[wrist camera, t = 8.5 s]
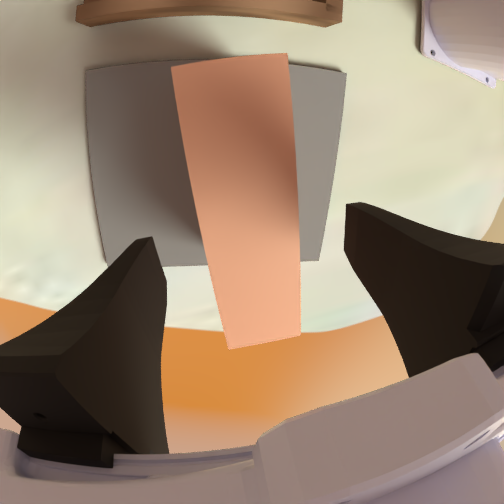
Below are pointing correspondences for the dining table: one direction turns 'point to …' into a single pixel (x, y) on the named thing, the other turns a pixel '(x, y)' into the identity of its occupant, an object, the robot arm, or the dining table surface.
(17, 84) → the dining table surface
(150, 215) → the mat
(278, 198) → the salmon orange block
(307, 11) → the rack
